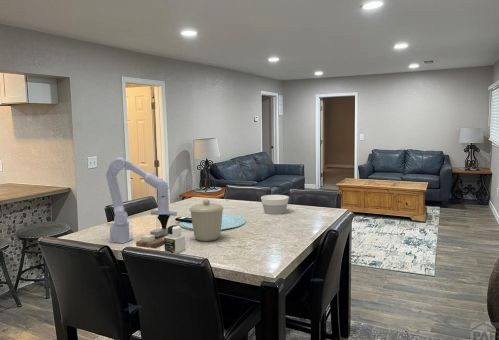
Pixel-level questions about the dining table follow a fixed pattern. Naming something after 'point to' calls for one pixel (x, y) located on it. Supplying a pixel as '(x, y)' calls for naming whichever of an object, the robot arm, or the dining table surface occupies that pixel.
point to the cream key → (148, 238)
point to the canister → (206, 220)
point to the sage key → (165, 231)
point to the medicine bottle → (174, 240)
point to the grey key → (156, 232)
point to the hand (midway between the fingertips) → (164, 228)
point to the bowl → (275, 204)
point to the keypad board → (153, 242)
